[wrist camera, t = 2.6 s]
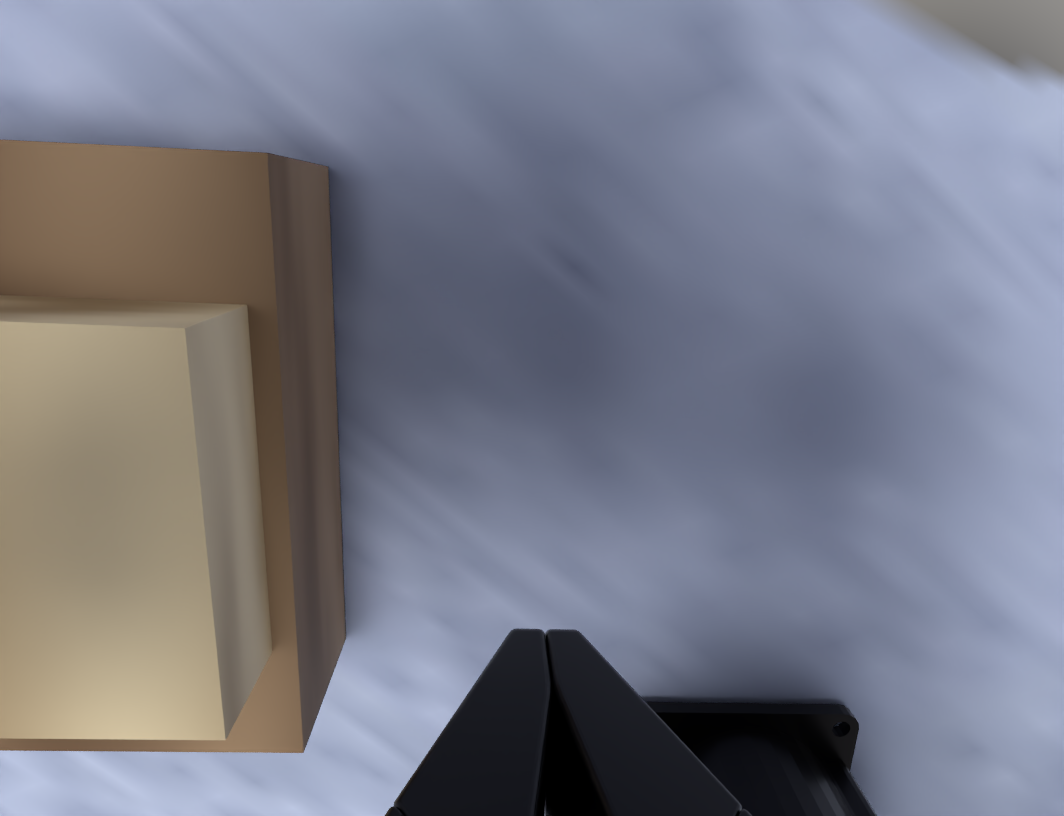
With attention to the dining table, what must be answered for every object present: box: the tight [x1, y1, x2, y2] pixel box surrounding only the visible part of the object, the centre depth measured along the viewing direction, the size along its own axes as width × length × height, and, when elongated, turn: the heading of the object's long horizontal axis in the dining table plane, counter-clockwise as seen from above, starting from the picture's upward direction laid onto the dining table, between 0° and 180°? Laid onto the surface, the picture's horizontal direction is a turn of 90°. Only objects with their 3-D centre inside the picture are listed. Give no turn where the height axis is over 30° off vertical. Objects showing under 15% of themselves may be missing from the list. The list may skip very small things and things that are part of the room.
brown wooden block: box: [0, 140, 346, 753], centre depth 15 cm, size 10×12×4 cm
